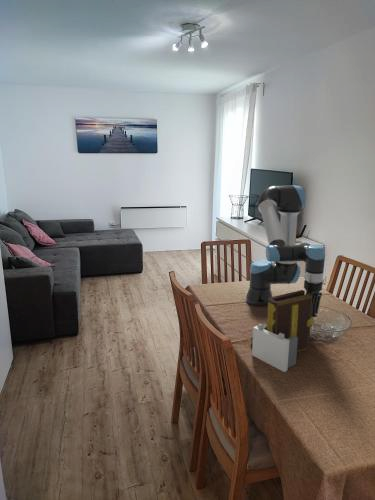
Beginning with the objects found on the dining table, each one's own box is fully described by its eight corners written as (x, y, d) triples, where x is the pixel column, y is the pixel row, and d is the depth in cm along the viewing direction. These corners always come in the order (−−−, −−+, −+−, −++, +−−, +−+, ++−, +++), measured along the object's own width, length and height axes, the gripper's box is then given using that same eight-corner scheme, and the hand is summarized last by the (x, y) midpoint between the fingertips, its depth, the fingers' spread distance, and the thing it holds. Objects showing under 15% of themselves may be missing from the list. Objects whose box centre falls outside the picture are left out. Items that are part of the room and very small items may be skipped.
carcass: (264, 348, 158) (265, 316, 154) (296, 364, 146) (298, 330, 143) (252, 355, 153) (253, 322, 149) (284, 372, 141) (286, 337, 137)
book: (274, 361, 148) (278, 305, 142) (261, 351, 156) (264, 297, 149) (315, 348, 158) (320, 294, 151) (301, 339, 165) (305, 288, 158)
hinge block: (253, 340, 165) (254, 332, 164) (262, 342, 163) (262, 334, 162) (250, 344, 162) (251, 336, 161) (259, 346, 160) (259, 338, 159)
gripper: (313, 275, 165) (310, 322, 171) (297, 282, 157) (294, 331, 163) (329, 279, 160) (324, 328, 166) (313, 286, 152) (309, 337, 158)
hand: (309, 329), depth 165 cm, fingers closed
